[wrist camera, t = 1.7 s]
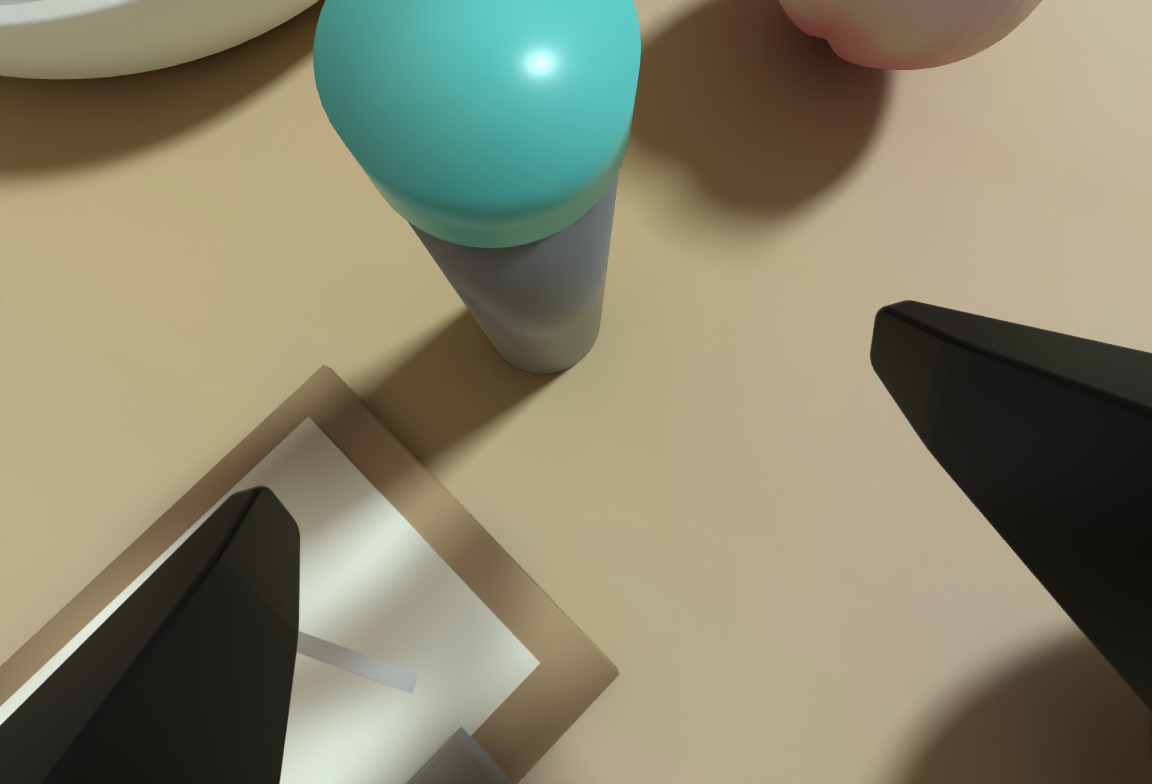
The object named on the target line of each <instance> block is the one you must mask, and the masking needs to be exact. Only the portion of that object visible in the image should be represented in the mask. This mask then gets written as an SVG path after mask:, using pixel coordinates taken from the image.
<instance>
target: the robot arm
mask: <svg viewBox="0 0 1152 784" xmlns="http://www.w3.org/2000/svg"><path fill="white" fill-rule="evenodd" d="M870 359H871V364H872V366H873V369H874V371H875V372H876V374H877V375H878V377H879V378H880V380H881V381H882V383H883V384H884V386H885V387H886V389H887V390H888V392H889V393H890V395H891V396H892V398H893V399H894V401H895V402H896V404H897V405H898V407H899V408H900V409H901V411H902V412H903V414H904V415H905V417H906V418H907V420H908V421H909V423H910V424H911V426H912V427H913V429H914V430H915V432H916V433H917V435H918V436H919V438H920V439H921V440H922V442H923V443H924V445H925V446H926V447H927V449H928V450H929V451H930V453H931V454H932V455H933V456H934V458H935V459H936V460H937V461H938V463H939V464H940V465H941V466H942V467H943V468H944V470H945V471H946V472H947V473H948V474H949V476H950V477H951V478H952V479H953V480H954V481H955V483H956V484H957V485H958V486H959V487H960V488H961V490H962V491H963V492H964V493H965V494H966V496H967V497H968V498H969V499H970V500H971V501H972V503H973V504H974V505H975V506H976V507H977V509H978V510H979V511H980V512H981V513H982V514H983V516H984V517H985V518H986V519H987V520H988V522H989V523H990V524H991V525H992V526H993V527H994V529H995V530H996V531H997V532H998V533H999V534H1000V536H1001V537H1002V538H1003V539H1004V540H1005V542H1006V543H1007V544H1008V545H1009V546H1010V547H1011V549H1012V550H1013V551H1014V552H1015V553H1016V555H1017V556H1018V557H1019V558H1020V559H1021V560H1022V562H1023V563H1024V564H1025V565H1026V566H1027V568H1028V569H1029V570H1030V571H1031V572H1032V573H1033V575H1034V576H1035V577H1036V578H1037V579H1038V580H1039V582H1040V583H1041V584H1042V585H1043V586H1044V588H1045V589H1046V590H1047V591H1048V592H1049V593H1050V595H1051V596H1052V597H1053V598H1054V599H1055V601H1056V602H1057V603H1058V604H1059V605H1060V606H1061V608H1062V609H1063V610H1064V611H1065V612H1066V614H1067V615H1068V616H1069V617H1070V618H1071V619H1072V621H1073V622H1074V623H1075V624H1076V625H1077V626H1078V628H1079V629H1080V630H1081V631H1082V632H1083V634H1084V635H1085V636H1086V637H1087V638H1088V639H1089V641H1090V642H1091V643H1092V644H1093V645H1094V647H1095V648H1096V649H1097V650H1098V651H1099V652H1100V654H1101V655H1102V656H1103V657H1104V658H1105V660H1106V661H1107V662H1108V663H1109V664H1110V665H1111V667H1112V668H1113V669H1114V670H1115V671H1116V672H1117V674H1118V675H1119V676H1120V677H1121V678H1122V680H1123V681H1124V682H1125V683H1126V684H1127V685H1128V687H1129V688H1130V689H1131V690H1132V691H1133V693H1134V694H1135V695H1136V696H1137V697H1138V698H1139V700H1140V701H1141V702H1142V703H1143V704H1144V706H1145V707H1146V708H1147V709H1148V710H1149V711H1150V713H1151V714H1152V353H1149V352H1144V351H1139V350H1135V349H1130V348H1126V347H1121V346H1117V345H1112V344H1107V343H1103V342H1098V341H1094V340H1089V339H1085V338H1080V337H1076V336H1071V335H1066V334H1062V333H1057V332H1053V331H1048V330H1044V329H1039V328H1035V327H1030V326H1025V325H1021V324H1016V323H1012V322H1007V321H1003V320H998V319H994V318H989V317H984V316H980V315H975V314H971V313H966V312H962V311H957V310H953V309H948V308H943V307H939V306H934V305H930V304H925V303H921V302H916V301H911V300H906V301H902V302H898V303H895V304H891V305H888V306H884V307H882V308H881V309H879V310H878V312H877V314H876V316H875V322H874V329H873V336H872V343H871V351H870ZM299 601H300V531H299V528H298V525H297V523H296V521H295V519H294V518H293V517H292V515H291V514H290V513H289V512H288V510H287V509H286V508H285V507H284V505H283V504H282V503H281V502H280V500H279V499H278V498H277V497H276V495H275V494H274V493H273V492H272V491H271V489H269V488H268V487H266V486H261V485H260V486H255V487H252V488H248V489H245V490H241V491H238V492H235V493H233V494H232V495H231V496H229V497H228V498H227V499H226V500H225V501H224V502H223V503H222V504H221V505H220V506H219V507H218V508H217V509H216V510H215V511H214V512H213V513H212V514H211V515H210V516H209V517H208V518H207V519H206V520H205V521H204V522H203V523H202V524H201V525H200V526H199V527H198V528H197V529H196V530H195V531H194V532H193V533H192V534H191V535H190V536H189V537H188V538H187V539H186V540H185V541H184V542H183V543H182V544H181V545H180V546H179V547H178V548H177V549H176V550H175V551H174V552H173V553H172V554H171V555H170V556H169V557H168V558H167V559H166V560H165V561H164V562H163V563H162V564H161V565H160V566H159V567H158V568H157V569H156V570H155V571H154V572H153V573H152V574H151V575H150V576H149V577H148V578H147V579H146V580H145V581H144V582H143V583H142V584H141V585H140V586H139V587H138V588H137V589H136V590H135V591H134V592H133V593H132V594H131V595H130V596H129V597H128V598H127V599H126V600H125V601H124V602H123V603H122V604H121V605H120V606H119V607H118V608H117V609H116V610H115V611H114V612H113V613H112V614H111V615H110V616H109V617H108V618H107V619H106V620H105V621H104V622H103V623H102V624H101V625H100V626H99V627H98V628H97V629H96V630H95V631H94V632H93V633H92V634H91V635H90V636H89V637H88V638H87V639H86V640H85V641H84V642H83V643H82V644H81V645H80V646H79V647H78V648H77V649H76V650H75V651H74V652H73V653H72V654H71V655H70V656H69V657H68V658H67V659H66V660H65V661H64V662H63V663H62V664H61V665H60V666H59V667H58V668H57V669H56V670H55V671H54V672H53V673H52V674H51V675H50V676H49V677H48V678H47V679H46V680H45V681H44V682H43V683H42V684H41V685H40V686H39V687H38V688H37V689H36V690H35V691H34V692H33V693H32V694H31V695H30V696H29V697H28V698H27V699H26V700H25V701H24V702H23V703H22V704H21V705H20V706H19V707H18V708H17V709H16V710H15V711H14V712H13V713H12V714H11V715H10V716H9V717H8V718H7V719H6V720H5V721H4V722H3V723H2V724H1V725H0V784H280V778H281V770H282V762H283V755H284V747H285V739H286V731H287V724H288V716H289V708H290V700H291V693H292V685H293V677H294V670H295V662H296V654H297V645H298V635H299Z"/></svg>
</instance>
